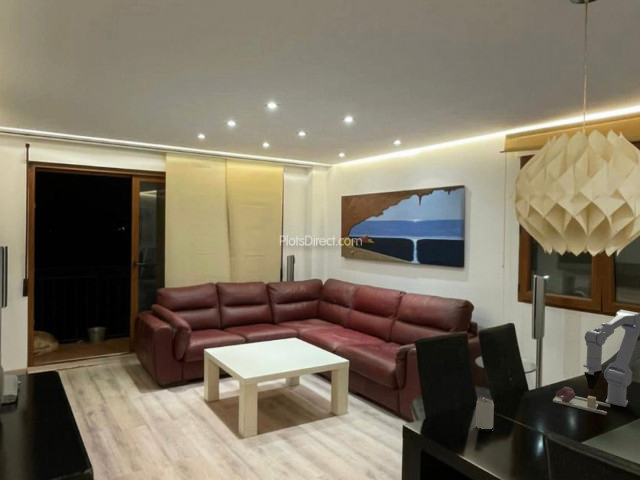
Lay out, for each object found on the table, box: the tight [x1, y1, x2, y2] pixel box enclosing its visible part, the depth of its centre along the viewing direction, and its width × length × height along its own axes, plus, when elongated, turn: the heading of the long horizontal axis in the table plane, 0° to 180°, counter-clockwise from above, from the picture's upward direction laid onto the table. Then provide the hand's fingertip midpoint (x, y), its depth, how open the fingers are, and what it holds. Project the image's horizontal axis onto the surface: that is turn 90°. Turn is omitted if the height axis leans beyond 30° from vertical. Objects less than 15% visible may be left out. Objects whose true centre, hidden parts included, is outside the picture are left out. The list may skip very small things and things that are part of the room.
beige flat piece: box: [553, 395, 599, 409], centre depth 205 cm, size 10×17×4 cm, turn 50°
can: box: [475, 396, 495, 429], centre depth 173 cm, size 6×6×12 cm
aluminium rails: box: [552, 395, 611, 416], centre depth 203 cm, size 13×21×1 cm, turn 50°
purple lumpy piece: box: [555, 386, 576, 402], centre depth 207 cm, size 10×5×7 cm, turn 168°
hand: (592, 386), depth 200 cm, fingers open, 7 cm apart
